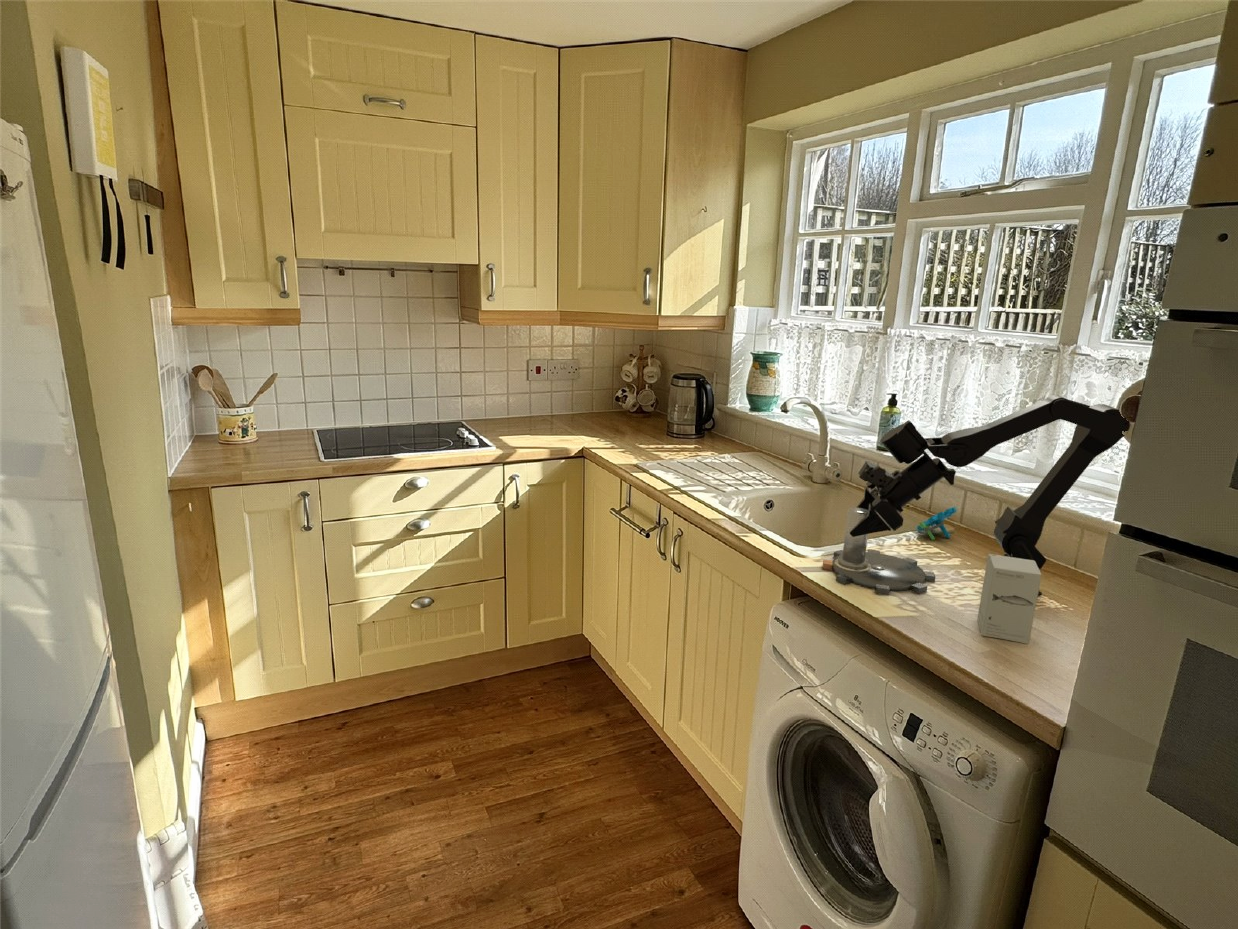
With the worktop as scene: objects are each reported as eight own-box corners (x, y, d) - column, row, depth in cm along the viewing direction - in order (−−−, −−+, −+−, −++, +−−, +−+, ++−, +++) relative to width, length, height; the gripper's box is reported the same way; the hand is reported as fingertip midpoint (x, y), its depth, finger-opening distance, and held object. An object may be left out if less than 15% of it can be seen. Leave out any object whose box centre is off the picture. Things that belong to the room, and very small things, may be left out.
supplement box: (980, 636, 123) (992, 567, 120) (976, 618, 129) (987, 552, 126) (1029, 645, 120) (1042, 574, 117) (1023, 626, 127) (1035, 558, 124)
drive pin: (874, 565, 149) (880, 512, 146) (856, 572, 145) (863, 517, 143) (849, 556, 154) (855, 504, 151) (831, 562, 150) (837, 509, 147)
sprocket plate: (925, 561, 156) (926, 554, 156) (943, 601, 136) (944, 595, 136) (822, 549, 161) (822, 543, 161) (823, 587, 141) (824, 580, 141)
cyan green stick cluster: (935, 519, 180) (962, 500, 172) (949, 540, 177) (976, 522, 169) (904, 531, 175) (930, 512, 167) (917, 553, 173) (944, 535, 164)
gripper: (882, 440, 151) (822, 486, 157) (892, 460, 134) (824, 511, 139) (917, 480, 152) (856, 524, 157) (932, 505, 134) (862, 554, 139)
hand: (849, 527), depth 148 cm, fingers open, 9 cm apart
